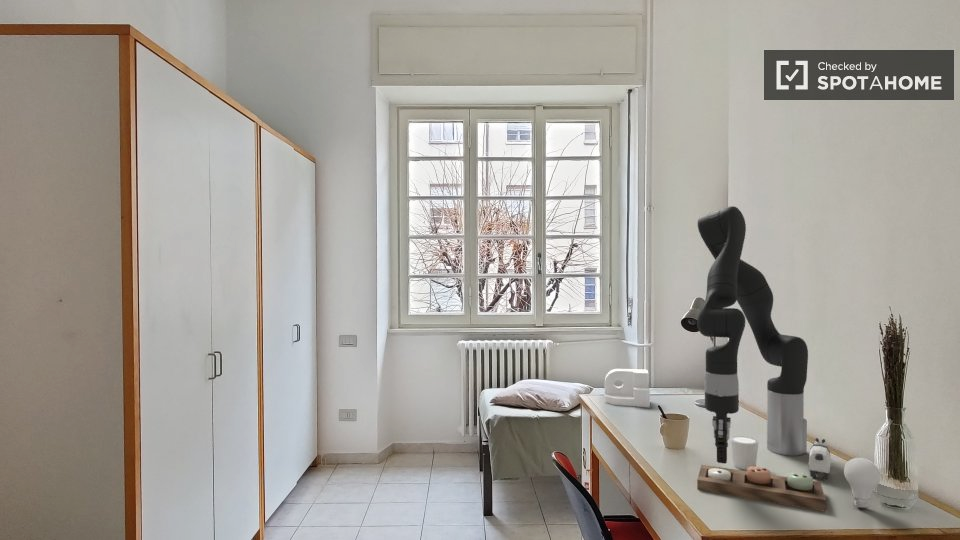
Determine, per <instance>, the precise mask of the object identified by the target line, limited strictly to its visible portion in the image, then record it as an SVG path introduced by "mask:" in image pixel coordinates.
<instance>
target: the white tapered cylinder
mask: <svg viewBox="0 0 960 540" xmlns="http://www.w3.org/2000/svg"><path fill="white" fill-rule="evenodd" d="M729 441H730V454H731V465H732V466H733V467H735V468H736V469H737V468H738V469H739V470H740V469H741V470H744V471H747V468H748V467H751V466H756V467H757V459H758V451H759V450H758V448H759V440H757V439H755V438H753V437H749V436H742V435H741V436H740V435H739V436H738V435H737V436H731V437H729Z"/></svg>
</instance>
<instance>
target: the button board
mask: <svg viewBox="0 0 960 540" xmlns="http://www.w3.org/2000/svg"><path fill="white" fill-rule="evenodd" d="M713 468H718V469H724V470H727V471H729V472H730V473H731V481H727V480H721V479H714V478H708V470H709V469H713ZM699 469H700V470H699V473H698V476H697V479H696V481H697V485H696V486H697V487H696V489H697V490H701V491H706V492H712V493H717V494H722V495H727V496H735V497H739V498H745V499H749V500H755V501H760V500H761V502H766V503H773V504H780V505H784V506H785V505H786V506H792V507H797V508H801V509H803V508H804V509H809V510H815V511H820V512H821V511H822V512H826V510H827V509H826V505H827V504H826V501H827V500H826V497H825V492H824V489H823V486H822V482H821V481H815V480H813V489H811V490H799V489H795V488H792V487H790V486H789V485H788V476H781V475H776V474H775V475H774V474H771V482H770V483H767V484H760V483H755V482H752V481H749V480H748V479H747V470H743V469H741V470H740V469H733V468H727V467H720V466H714V465H708V464H707V465H706V464H700V468H699Z"/></svg>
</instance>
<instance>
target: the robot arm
mask: <svg viewBox="0 0 960 540" xmlns="http://www.w3.org/2000/svg"><path fill="white" fill-rule="evenodd" d="M746 225H747V224H746V221H745V217H744V215H743V213H742V211H741V210H740V209H739V208H738V207H736V206H733V205H732V206H727V207H723V208H721V209H718V210H715V211H712V212H708V213H706V214H704V215H701V216H699V218H698V220H697V229H698V232H699V235H700V238H701V239H702V241H703V242H704V244H705V247H706V248H707V249H708V251H709V252H710V254H711V255H712V257H713V259H714V261H713V263H712V264H711V267H710V268H709V271H708V274H707V278H706V279H707V280H706V295H705V300H704V301H703V304H702V306H701V309H700V311H699V314H698V317H697V320H696V321H697V322H696V324H697V325H696V326H697V327H696V328H697V330H698V331H699V333H700V334H701V335H702V336H704V337H708V338H727V339H728V340H727V342H726V343H725V344H721V345H715V346H710V347H708V348H706V350H705V376H704V408H705V410H707V412H708V411H709V412H710V413H715V415H713V416H712V423H711V426H712V428H713V438H714V441H715V443H714V446H715V447H716V462H717V463H718V464H727V462H728V447H729V443H728V441H729V440H730V435H731V434H730V431H731V429H730V428H731V423H732V422H731V421H732V419H731V418H732V417H728V415H729V414H731V415H732V414H737V413H738V412H739V409H740V405H739V404H740V402H739V401H740V400H739V397H740V396H739V394H740V393H739V391H740V388H739V387H740V386H739V378H738V377H739V376H738V353H739V347H740V343H741V340H742V336H743V334H744V331H745V327H746V322H747V323H748V325H749V327H750V329H751V332H752V334H753V337H754V340H755V342H756V344H757V347H758V350H759V352H760V354H761V356H762V358H763V360H765V362H766V363H768V364H769V365H772V366H776V367H779V368H781V371H780V375H779V376H776V377H772V378H769V379H768V380H767V384H766V385H767V386H766V387H767V388H766V389H767V390H766V391H767V392H766V394H767V395H766V400H767V401H766V404H767V405H766V407H767V408H766V415H767V416H766V449H767V450H769V451H770V452H772V453H775V454H778V455H782V456H783V455H784V456H801V455H803V454H807V452H808V451H807V449H808V447H807V446H808V445H807V442H808V436H807V435H808V433H807V431H808V420H807V419H806V418H804V413H805V411H804V410H805V409H804V407H805V406H804V405H805V403H804V400H805V399H804V398H805V397H804V395H805V393H804V392H805V391H804V390H805V386H806V383H807V378H808V377H807V376H808V366H809V365H808V362H809V350H808V345H807V343H806V341H805V340H804V339H803V338H801V337H799V336H795V335H789V334H788V335H786V334H781V333H780V332H779V331H778V329H777V328H776V326H775V324H774V322H773V319H772V310H773V307H774V295H773V290H772V289H771V287H770V285H769V283H768V281H767V279H766V277H765V275H764V274H763V273H762V272H761V271H760V270H758V269H757V268H756V267H754V266H753V265H751V264H750V263H748V262H746V261H744V260H743V259H741V257H742V253H743V248H744V243H745V239H746V232H747V229H746V228H747V226H746ZM736 302H737V303H738V305H739V307H740V309H741V310H740V309H738V308H735V307H734V308H732V307H731V306H734V305H735V304H736Z"/></svg>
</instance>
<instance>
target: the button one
mask: <svg viewBox="0 0 960 540" xmlns="http://www.w3.org/2000/svg"><path fill="white" fill-rule="evenodd" d="M708 478H714V479H721V480H727V481H731V473H730V472H729V471H727V470H724V469H718V468H713V469H709V470H708Z"/></svg>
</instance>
